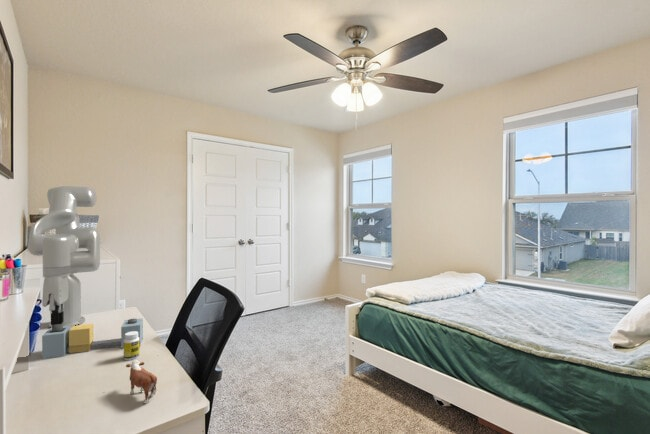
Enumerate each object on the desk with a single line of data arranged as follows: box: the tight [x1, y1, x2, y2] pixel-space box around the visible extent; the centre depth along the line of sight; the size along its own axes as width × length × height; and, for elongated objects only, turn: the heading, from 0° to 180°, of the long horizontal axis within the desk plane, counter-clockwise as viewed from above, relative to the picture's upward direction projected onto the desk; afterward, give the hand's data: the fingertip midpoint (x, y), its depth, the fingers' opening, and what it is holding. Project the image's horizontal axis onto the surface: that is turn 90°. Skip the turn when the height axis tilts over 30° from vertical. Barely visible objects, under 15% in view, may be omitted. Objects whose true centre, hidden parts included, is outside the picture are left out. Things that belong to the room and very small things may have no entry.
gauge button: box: [52, 323, 63, 333], centre depth 117 cm, size 3×3×4 cm
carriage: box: [68, 323, 94, 354], centre depth 120 cm, size 5×6×8 cm
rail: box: [66, 337, 121, 354], centre depth 121 cm, size 3×17×2 cm, turn 112°
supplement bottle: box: [123, 331, 140, 361], centre depth 114 cm, size 5×5×8 cm
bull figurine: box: [125, 359, 158, 404], centre depth 92 cm, size 4×13×8 cm, turn 51°
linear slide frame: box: [41, 318, 144, 360], centre depth 121 cm, size 8×29×9 cm, turn 112°
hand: (57, 323), depth 116 cm, fingers closed
